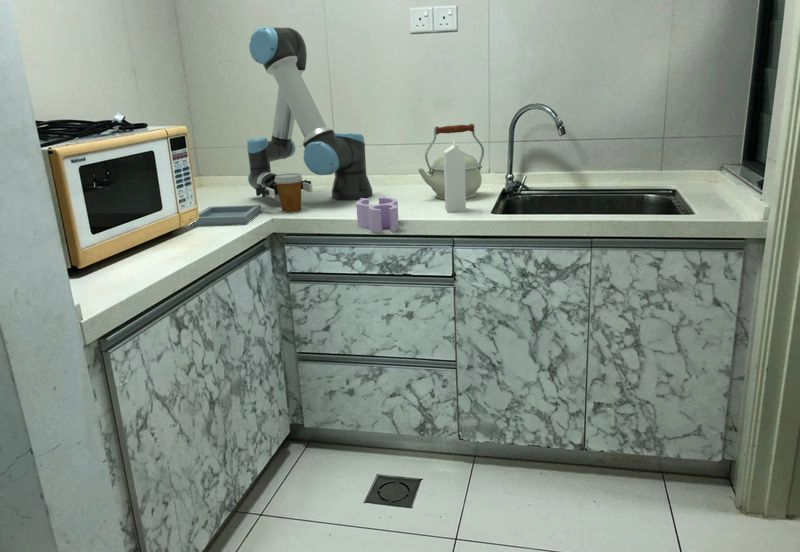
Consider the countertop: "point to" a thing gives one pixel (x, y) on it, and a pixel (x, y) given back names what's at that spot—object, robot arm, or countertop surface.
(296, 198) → the disposable coffee cup
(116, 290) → the countertop surface
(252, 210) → the tray
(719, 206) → the countertop surface
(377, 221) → the clip
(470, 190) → the kettle
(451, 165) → the milk
